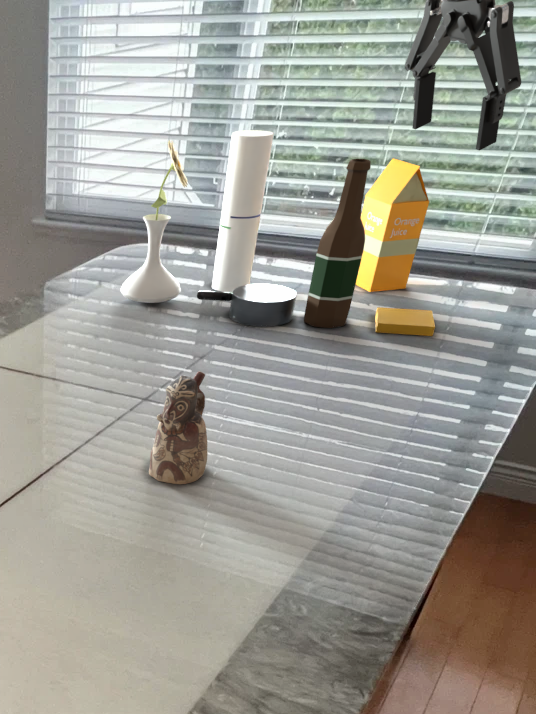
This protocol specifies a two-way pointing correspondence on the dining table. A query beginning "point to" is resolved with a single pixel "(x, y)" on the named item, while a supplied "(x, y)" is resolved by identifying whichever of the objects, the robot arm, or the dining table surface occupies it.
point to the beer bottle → (339, 255)
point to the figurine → (181, 434)
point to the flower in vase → (155, 252)
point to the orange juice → (392, 227)
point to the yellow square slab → (404, 321)
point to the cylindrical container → (241, 208)
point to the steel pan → (257, 304)
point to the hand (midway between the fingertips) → (452, 135)
